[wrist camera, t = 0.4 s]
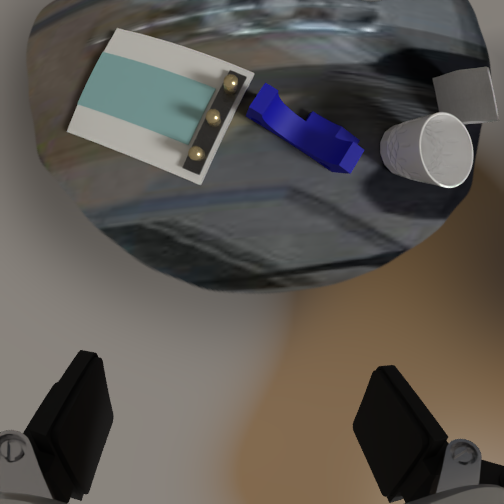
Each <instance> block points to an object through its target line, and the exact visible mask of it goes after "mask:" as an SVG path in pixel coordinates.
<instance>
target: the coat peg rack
mask: <svg viewBox="0 0 504 504" xmlns="http://www.w3.org/2000/svg"><path fill="white" fill-rule="evenodd" d="M246 79H247V77H246V76H244V75H241V74H239V73H236V72H234V71H231V70H230V71H229V73H228V75H227V76H226V77H225V78H224V82H223V84H222V86H221V88H220V90H219V92H218V94H217V96H216V98H215V100H214V102H213V104H212V106H211V108H210V110H209V111H208V112H207V113H206V118H205V120H204V122H203V124H202V126H201V128H200V130H199V132H198V134H197V136H196V139H195V141H194V143H193V145H192V147H191V148H190V149H189V151H188V156H187V158H186V161H185V163H184V165H183V167H182V168H183V169H186V170H188V171H191V172H193V173H195V174H198V175H200V174H201V171H202V169H203V167H204V165H205V163H206V160H207V158H208V156H209V154H210V152H211V149H212V147H213V145H214V143H215V141H216V139H217V137H218V135H219V133H220V130H221V128H222V126H223V124H224V122H225V120H226V118H227V116H228V114H229V112H230V110H231V108H232V106H233V104H234V102H235V100H236V98H237V96H238V94H239V92H240V90H241V88H242V86H243V84H244V83H245V81H246Z"/></svg>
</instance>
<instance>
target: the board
mask: <svg viewBox="0 0 504 504" xmlns="http://www.w3.org/2000/svg"><path fill="white" fill-rule="evenodd" d="M230 70H231V71H234V72H236V73H239V74H241V75H244V76H246V77H247V79H246V81H245V83H244V84H243V86H242V88H241V90H240V92H239V94H238V96H237V98H236V100H235V102H234V104H233V106H232V108H231V110H230V112H229V114H228V116H227V118H226V120H225V122H224V124H223V126H222V128H221V130H220V133H219V135H218V137H217V139H216V141H215V143H214V145H213V147H212V149H211V152H210V154H209V156H208V158H207V160H206V163H205V165H204V167H203V169H202V171H201V174H200V175H198V174H195V173H193V172H191V171H188V170H186V169H183V168H182V167H183V165H184V163H185V161H186V158H187V156H188V151H189V149H190V148H191V147H192V145H193V143H194V141H195V139H196V136H197V134H198V132H199V130H200V128H201V126H202V124H203V122H204V120H205V118H206V113H207V112H208V111H209V110H210V108H211V106H212V104H213V102H214V100H215V98H216V96H217V94H218V92H219V90H220V88H221V86H222V84H223V82H224V78H225V77H226V76H227V75H228V73H229V71H230ZM253 76H254V73H252V72H250V71H248V70H245V69H243V68H241V67H238V66H236V65H233V64H231V63H228V62H226V61H223V60H220V59H218V58H215V57H212V56H210V55H207V54H204V53H201V52H198V51H195V50H193V49H190V48H187V47H183V46H180V45H177V44H174V43H171V42H167V41H164V40H161V39H157V38H154V37H150V36H146V35H143V34H139V33H135V32H131V31H127V30H122V29H118V28H117V29H116V31H115V33H114V35H113V36H112V38H111V40H110V41H109V43H108V45H107V47H106V48H105V50H104V52H102V54H101V56H100V58H99V60H98V62H97V64H96V66H95V67H94V69H93V71H92V73H91V75H90V77H89V80H88V82H87V84H86V86H85V88H84V90H83V92H82V94H81V97H80V99H79V101H78V103H77V104H78V105H77V108H76V110H75V112H74V115H73V117H72V120H71V122H70V125H69V127H68V130H67V132H69V133H72V134H74V135H77V136H80V137H82V138H85V139H88V140H90V141H93V142H96V143H98V144H101V145H103V146H106V147H108V148H111V149H114V150H116V151H119V152H121V153H124V154H126V155H129V156H131V157H134V158H136V159H139V160H141V161H144V162H146V163H149V164H151V165H153V166H156V167H158V168H161V169H163V170H166V171H168V172H170V173H173V174H175V175H178V176H180V177H182V178H185V179H187V180H190V181H192V182H194V183H197V184H199V185H201V184H202V182H203V180H204V178H205V175H206V173H207V171H208V169H209V166H210V164H211V162H212V160H213V158H214V156H215V153H216V151H217V149H218V147H219V145H220V143H221V141H222V139H223V136H224V134H225V132H226V130H227V128H228V126H229V124H230V122H231V120H232V118H233V116H234V114H235V112H236V110H237V108H238V106H239V104H240V102H241V100H242V98H243V96H244V94H245V92H246V90H247V88H248V86H249V84H250V82H251V80H252V79H253Z"/></svg>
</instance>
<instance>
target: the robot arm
mask: <svg viewBox="0 0 504 504" xmlns="http://www.w3.org/2000/svg"><path fill="white" fill-rule="evenodd" d="M363 1H381V0H363ZM106 383H107V382H106V377H105V372H104V366H103V361H102V359H101V358H99V357H98V355H97V353H94V352H88V351H83V350H80V351H79V352H78V354H77V355H76V357H75V358H74V359H73V361H72V362H71V364H70V365H69V367H68V368H67V370H66V371H65V373H64V374H63V376H62V378H61V379H60V380H59V382H57V383H55V384H54V385H53V386H52V388H51V390H50V391H49V393H48V394H47V396H46V397H45V399H44V400H43V402H42V404H41V405H40V407H39V408H38V410H37V411H36V413H35V415H34V416H33V418H32V419H31V421H30V423H29V424H28V426H27V428H26V429H25V431H24V433H21V432H19V431H14V430H6V431H3V432H0V504H67V503H68V502H69V500H70V497H71V498H74V499H77V500H80V501H81V500H82V497H83V494H88V493H89V490H90V487H91V484H92V481H93V478H94V475H95V472H96V469H97V465H98V463H99V460H100V457H101V454H102V451H103V448H104V445H105V443H106V440H107V437H108V434H109V431H110V428H111V426H112V423H113V411H112V407H111V402H110V398H109V393H108V388H107V384H106ZM353 431H354V433H355V435H356V437H357V440H358V442H359V444H360V446H361V448H362V451H363V453H364V455H365V457H366V459H367V462H368V464H369V466H370V468H371V470H372V473H373V475H374V477H375V479H376V482H377V484H378V486H379V489H380V491H381V493H382V495H383V496H385V497H386V496H387V498H388V501H389V503H391V502H394V501H398V500H401V499H404V500H405V504H504V466H502V465H498V464H495V463H491V462H488V461H484V460H481V452H480V450H479V448H478V447H477V446H476V445H475V444H474V443H473V442H471V441H469V440H466V439H455V440H453V441H451V442H450V443H448V442H447V441H446V440H447V438H448V436H447V434H446V433H445V432H444V430H443V429H442V428H441V426H440V425H439V423H438V422H437V421H436V419H435V418H434V417H433V415H432V414H431V413H430V411H429V410H428V409H427V407H426V406H425V405H424V403H423V402H422V401H421V399H420V398H419V397H418V395H417V394H416V393H415V391H414V390H413V389H412V388H411V386H410V385H409V383H408V382H407V381H406V380H405V378H404V377H403V376H402V374H401V373H400V372H399V371H398V369H397V368H396V367H395V366H394V365H389V366H379V367H378V368H377V369H376V370H375V371H373V373H372V375H371V378H370V381H369V384H368V386H367V389H366V392H365V395H364V397H363V400H362V402H361V405H360V407H359V410H358V412H357V415H356V417H355V419H354V422H353Z"/></svg>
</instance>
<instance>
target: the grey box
mask: <svg viewBox="0 0 504 504" xmlns="http://www.w3.org/2000/svg"><path fill="white" fill-rule="evenodd" d="M432 79H433V84H434V88H435V93H436V98H437V103H438V109H439V112H446V113H449V114H452V115H453V116H455V117H456V118H458V119H459V120H460V121H461V122H462V123H463V124H474V123H486V122H492V121H499V117H498V111H497V105H496V99H495V94H494V89H493V85H492V80H491V76H490V72H489V68H488V67H481V68H473V69H465V70H457V71H454V72H451V73H448V74H445V75H441V76H438V77H435V78H432Z"/></svg>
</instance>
